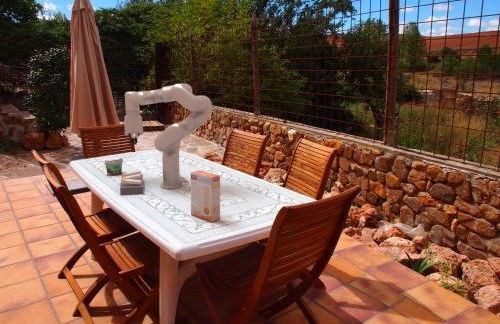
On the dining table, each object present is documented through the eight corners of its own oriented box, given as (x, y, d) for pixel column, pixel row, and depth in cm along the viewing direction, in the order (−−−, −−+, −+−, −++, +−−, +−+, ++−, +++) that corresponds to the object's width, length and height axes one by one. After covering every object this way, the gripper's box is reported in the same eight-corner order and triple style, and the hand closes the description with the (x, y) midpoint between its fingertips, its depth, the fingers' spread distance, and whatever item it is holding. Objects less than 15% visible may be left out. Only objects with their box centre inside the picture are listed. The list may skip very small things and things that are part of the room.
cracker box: (220, 219, 181) (220, 175, 176) (211, 222, 176) (210, 177, 172) (200, 212, 190) (200, 169, 185) (190, 215, 185) (190, 171, 181)
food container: (111, 177, 249) (110, 161, 246) (105, 175, 252) (104, 160, 250) (127, 173, 258) (126, 158, 256) (121, 172, 262) (121, 157, 260)
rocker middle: (140, 175, 230) (140, 173, 229) (141, 177, 226) (140, 175, 226) (123, 179, 227) (122, 176, 227) (123, 181, 224) (122, 178, 223)
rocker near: (140, 182, 222) (141, 179, 221) (140, 184, 218) (141, 181, 218) (122, 181, 219) (122, 178, 218) (121, 182, 215) (122, 180, 215)
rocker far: (140, 172, 238) (140, 169, 238) (140, 174, 234) (140, 171, 234) (123, 175, 236) (123, 173, 236) (123, 177, 232) (122, 174, 232)
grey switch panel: (142, 179, 246) (142, 172, 245) (143, 193, 216) (143, 186, 215) (122, 180, 243) (122, 173, 242) (120, 195, 213) (120, 188, 212)
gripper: (145, 112, 235) (147, 142, 239) (119, 113, 230) (121, 144, 234) (146, 113, 228) (148, 144, 232) (119, 114, 223) (121, 146, 227)
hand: (134, 144), depth 233 cm, fingers closed
